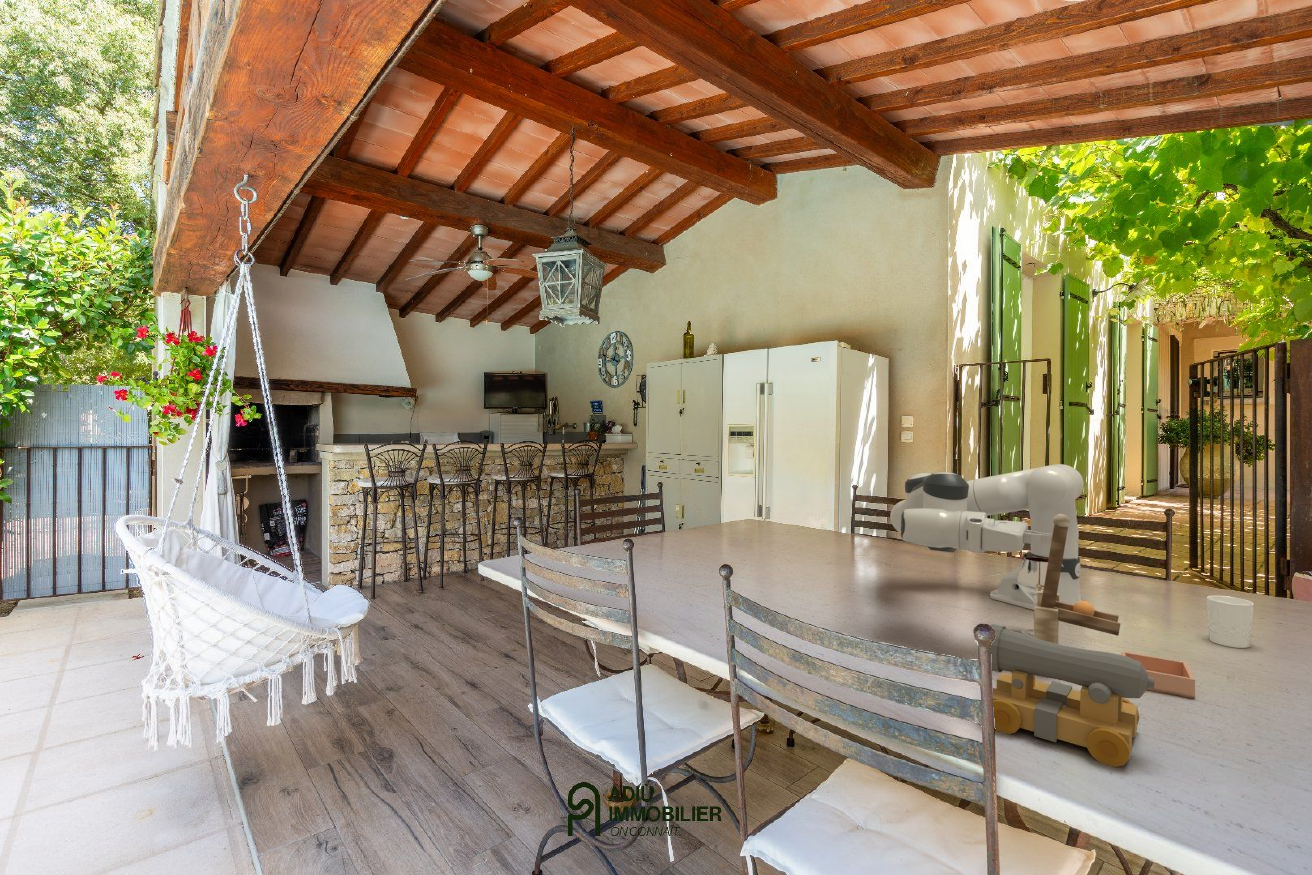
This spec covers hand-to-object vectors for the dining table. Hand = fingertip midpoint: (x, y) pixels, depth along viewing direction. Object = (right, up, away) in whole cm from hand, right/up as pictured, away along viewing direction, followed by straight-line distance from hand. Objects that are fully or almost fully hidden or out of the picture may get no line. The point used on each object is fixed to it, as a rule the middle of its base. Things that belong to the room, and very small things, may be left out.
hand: (1051, 538), depth 128 cm
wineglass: (+8, -26, +18) cm, 32 cm away
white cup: (+49, -26, +13) cm, 58 cm away
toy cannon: (-16, -27, -28) cm, 42 cm away
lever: (+4, -17, -2) cm, 17 cm away
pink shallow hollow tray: (+14, -26, -9) cm, 31 cm away
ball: (+5, -14, -3) cm, 15 cm away
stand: (0, -26, +1) cm, 26 cm away
